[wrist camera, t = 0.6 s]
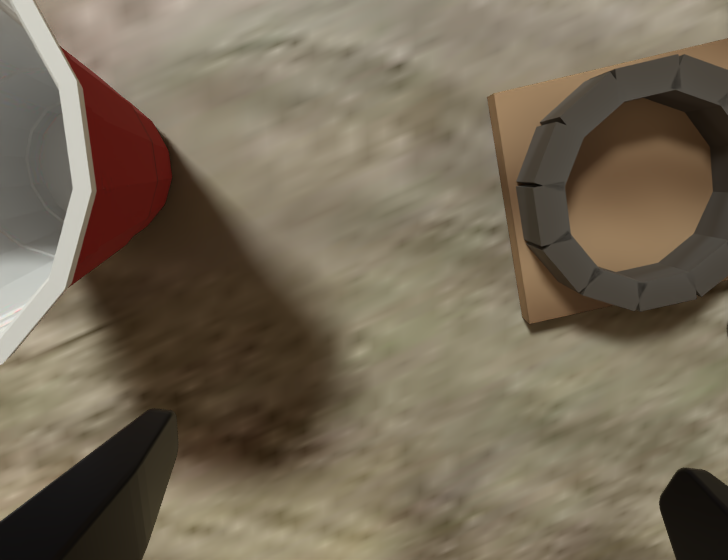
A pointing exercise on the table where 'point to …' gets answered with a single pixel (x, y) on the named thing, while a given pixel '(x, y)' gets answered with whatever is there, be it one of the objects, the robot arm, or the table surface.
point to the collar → (617, 183)
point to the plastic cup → (64, 171)
